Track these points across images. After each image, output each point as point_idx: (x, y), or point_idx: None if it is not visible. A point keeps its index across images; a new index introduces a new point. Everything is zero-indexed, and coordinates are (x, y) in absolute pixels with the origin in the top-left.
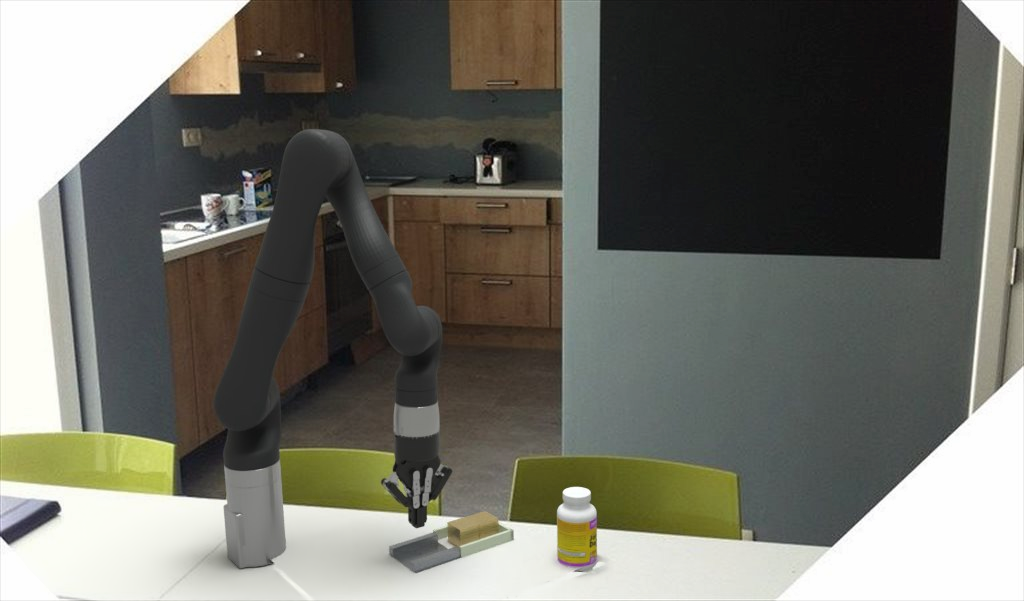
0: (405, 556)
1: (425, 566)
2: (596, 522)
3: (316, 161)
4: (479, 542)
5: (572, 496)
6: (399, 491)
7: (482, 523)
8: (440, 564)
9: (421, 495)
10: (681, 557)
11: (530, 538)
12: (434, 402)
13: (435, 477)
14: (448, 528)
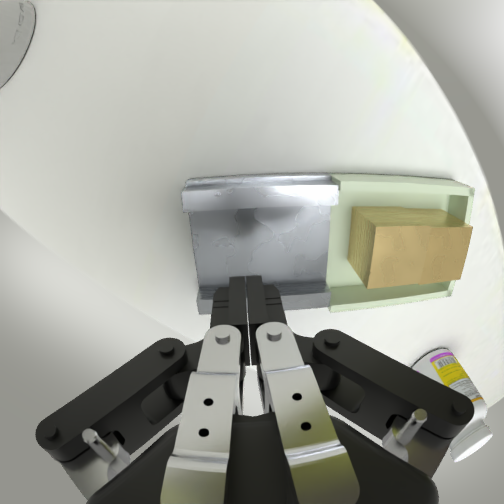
0: (217, 221)
1: None
2: None
3: None
4: (377, 306)
5: (456, 460)
6: (134, 446)
7: (425, 283)
8: None
9: (262, 399)
10: (478, 382)
11: (463, 272)
12: None
13: (388, 408)
14: (368, 225)
